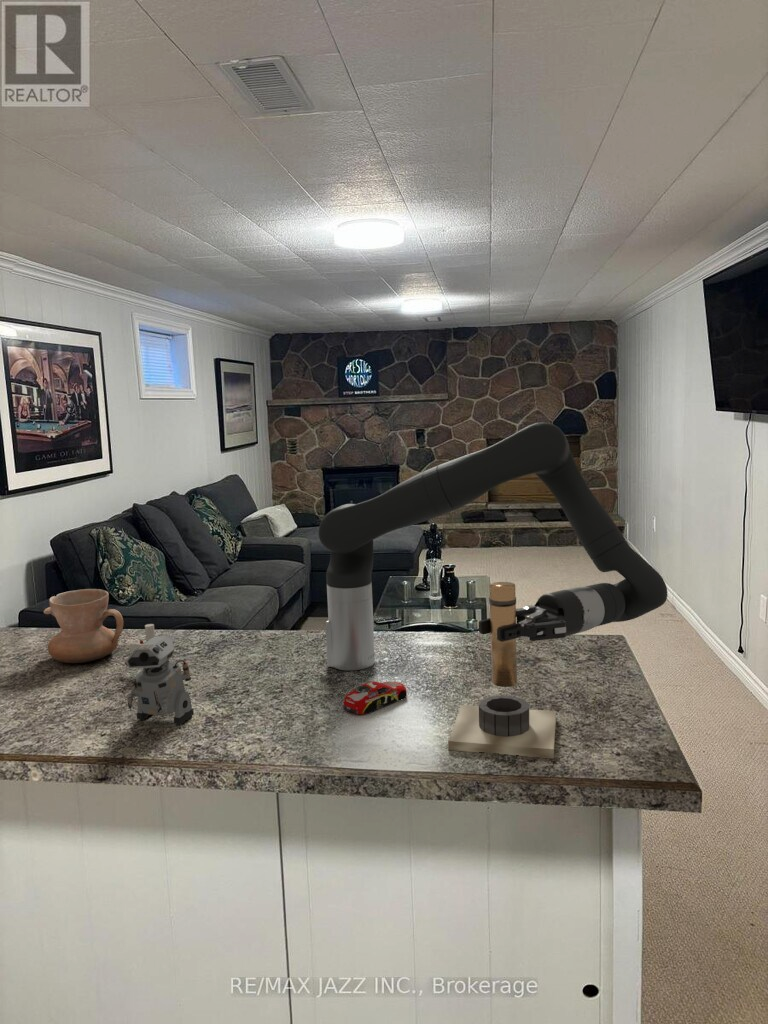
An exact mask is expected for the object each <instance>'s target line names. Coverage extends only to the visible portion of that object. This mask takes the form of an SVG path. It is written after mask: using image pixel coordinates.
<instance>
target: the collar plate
mask: <svg viewBox="0 0 768 1024" xmlns="http://www.w3.org/2000/svg"><path fill="white" fill-rule="evenodd" d="M457 713H458V714H457V716H456V719H455V721H454V725H453V727H452V729H451V733H450V735H449V737H448V741H447V746H448V747H447V750H448V751H455V752H457V751H458V752H468V753H479V752H485V753H484V754H491V753H499V754H498V755H503V754H509V755H508V756H516V755H519V756H518V757H528V758H530V757H531V758H540V757H541V758H542V759H551V760H552V759H554V757H555V745H556V731H555V730H556V727H557V711H555V710H543V709H542V710H540V709H530V703H529V702H528V701H526V700H525V699H523V698H520V697H517V696H514V695H513V696H512V695H503V694H499V695H493V696H487V697H485V698H483V699H480V701H479V704H478V705H467V704H461V705H460V708H459V711H458V712H457Z"/></svg>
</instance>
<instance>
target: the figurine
mask: <svg viewBox="0 0 768 1024" xmlns="http://www.w3.org/2000/svg"><path fill="white" fill-rule="evenodd" d="M175 641H176V640H175V639H174V638H173V637H171V636H170V635H169V634H167V635H166V634H165V635H155V636H154V637H153V638H151V639H150V640H148V641H146V640H145V641H144V640H143V639H141V640H139V643H140V644H142V645H141V646H139V647H138V648H136V649H135V650H134V651H131V653H132V654H130V655H129V656H128V658H127V659H126V660H125V662H124V663H125V666H127V667H128V669H142V670H140V671H139V672H138V673H137V674H135V675H134V678H133V679H132V681H133V686H134V687H133V688H132V689H131V692H130V693H129V694H127V695H126V699H127V701H126V702H127V707H128V709H129V710H132V708H133V707H134V706H133V702H134V697H137V712H136V719H137V720H139V721H140V720H141V721H145V719H148V718H149V716H152V715H153V716H154V715H155V716H167V715H169V714H171V713H174V717H173V724H175V725H177V726H182V725H183V724H185V723H186V721H189V720H190V719H192V718H193V716H194V715H195V712H194V709H193V707H192V699H191V696H190V694H189V693H188V692H187V691H186V689H185V684H184V681H186V682H189V681H191V680H192V677H191V675H190V674H191V673H190V669H189V668H190V667H189V664H188V662H186V661H184V660H182V659H181V660H177V661H176V662H170V659H171V658H172V657H173V655H174V652H175V647H174V644H175ZM180 662H182V664H181V665H182V668H181V666H180V664H179V663H180ZM182 670H183V671H182Z"/></svg>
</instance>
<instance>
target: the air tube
mask: <svg viewBox="0 0 768 1024" xmlns="http://www.w3.org/2000/svg"><path fill="white" fill-rule="evenodd" d="M488 601H489V603H488V604H489V616H490V617H489V618H490V625H491V633H490V661H491V666H490V667H491V683H492V684H493V685H494V686H496V687H500V688H508V687H513V686H516V685H517V684H518V662H517V659H518V656H517V653H518V652H517V638H515V639H511V640H507V641H504V642H501V641H498V640H497V629H498V627H501V626H505V625H510V624H514V623H517V617H516V609H517V607H516V605H517V597H516V584H515V583H514V582H509V581H496V582H492V583H490V584H489V598H488Z"/></svg>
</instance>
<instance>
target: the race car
mask: <svg viewBox="0 0 768 1024" xmlns="http://www.w3.org/2000/svg"><path fill="white" fill-rule="evenodd" d="M407 694H408V693H407V688H406V686H405V685H404V684H403V683H402V682H398V681H383V682H378V681H368V682H366V683H364V684H361V685H360V686H358V687H356V688H354V689H353V690H352V691H350V692H349V693H347V694H346V695H345V696H344V699H343V710H345V711H348V712H351V713H353V714H357V715H364V714H365V715H366V714H371V713H374V712H375V711H377V710H379V709H383V708H384V707H386V706H389V705H391V704H394V703H396V702H399V700H401V699H403V700H405V699H406V697H407ZM404 698H405V699H404ZM401 701H402V700H401Z"/></svg>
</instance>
